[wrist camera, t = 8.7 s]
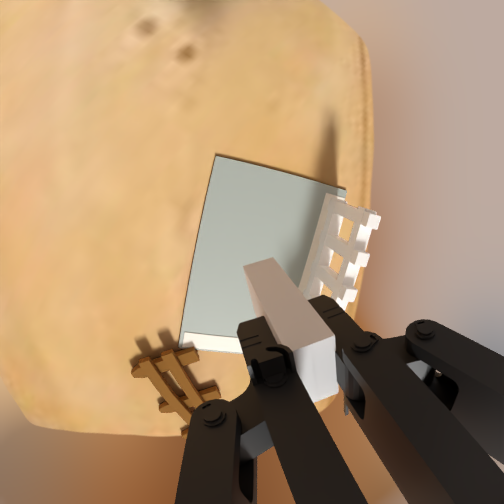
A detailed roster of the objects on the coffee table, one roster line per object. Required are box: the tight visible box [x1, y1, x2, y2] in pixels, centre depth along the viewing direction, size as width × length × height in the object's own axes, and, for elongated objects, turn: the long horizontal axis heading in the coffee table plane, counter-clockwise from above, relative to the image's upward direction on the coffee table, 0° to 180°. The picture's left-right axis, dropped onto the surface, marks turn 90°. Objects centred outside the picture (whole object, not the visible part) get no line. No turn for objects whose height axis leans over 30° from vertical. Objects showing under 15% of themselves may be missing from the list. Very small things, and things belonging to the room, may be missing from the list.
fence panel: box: [303, 197, 381, 311], centre depth 34 cm, size 18×2×9 cm, turn 167°
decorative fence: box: [131, 346, 221, 439], centre depth 41 cm, size 25×2×10 cm
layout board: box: [178, 156, 347, 354], centre depth 38 cm, size 25×17×1 cm
